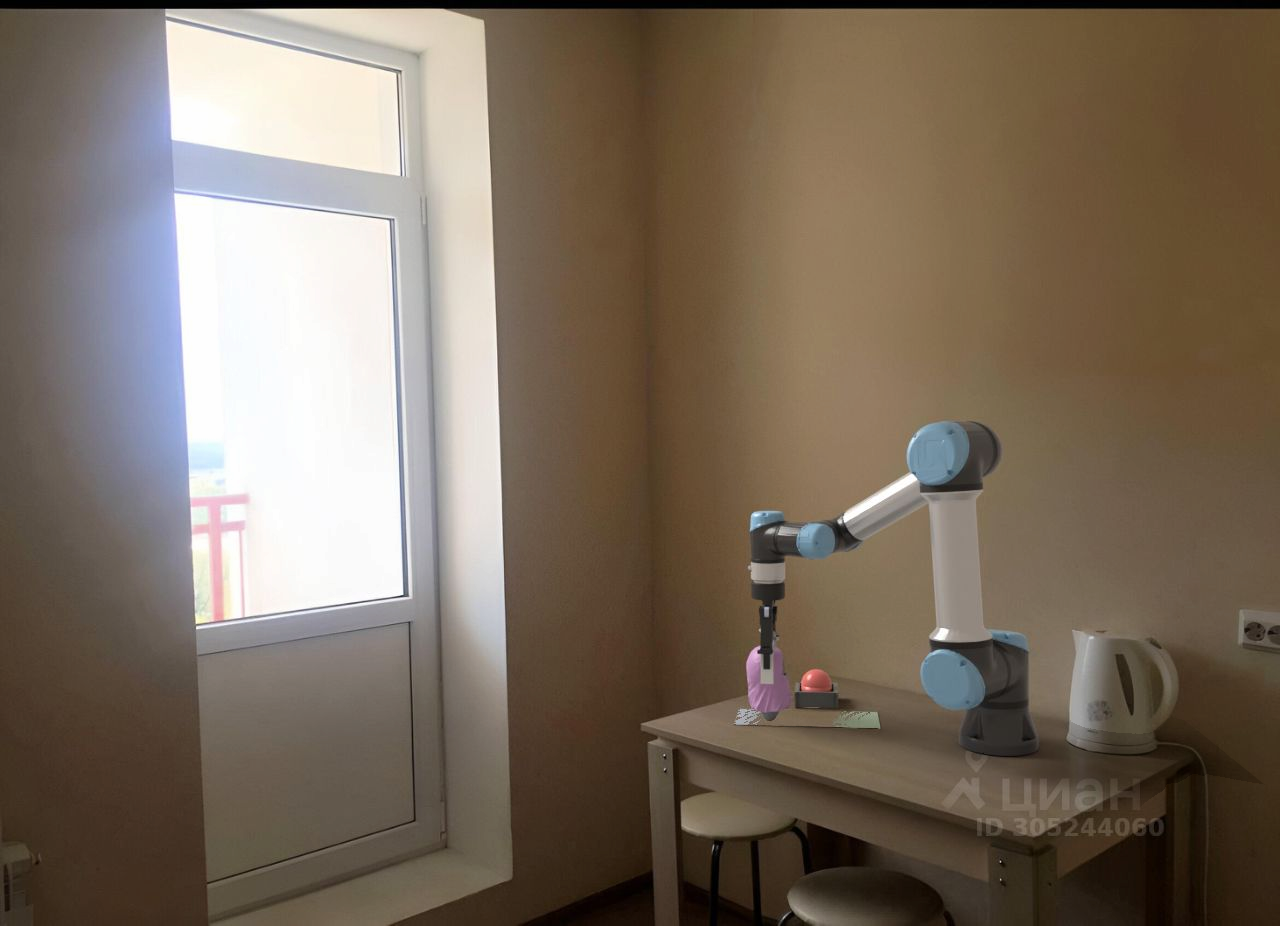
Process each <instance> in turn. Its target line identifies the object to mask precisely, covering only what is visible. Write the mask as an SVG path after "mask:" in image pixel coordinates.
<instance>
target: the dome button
mask: <svg viewBox="0 0 1280 926" xmlns="http://www.w3.org/2000/svg"><path fill="white" fill-rule="evenodd" d="M800 682H801V691H819V692H832V683H833V682H832V680H831V677H830V676H829V675H828V673H827V672H826V671H824V670H822V669H819V668H818V669H817V668H816V669H810V670H808V671H807V672H805V674H804V675H803V676H802V679H801V681H800Z"/></svg>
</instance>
